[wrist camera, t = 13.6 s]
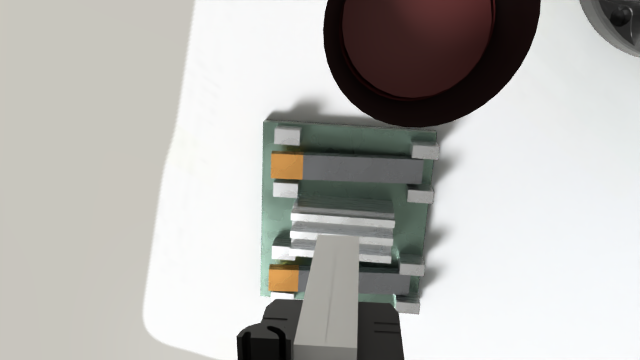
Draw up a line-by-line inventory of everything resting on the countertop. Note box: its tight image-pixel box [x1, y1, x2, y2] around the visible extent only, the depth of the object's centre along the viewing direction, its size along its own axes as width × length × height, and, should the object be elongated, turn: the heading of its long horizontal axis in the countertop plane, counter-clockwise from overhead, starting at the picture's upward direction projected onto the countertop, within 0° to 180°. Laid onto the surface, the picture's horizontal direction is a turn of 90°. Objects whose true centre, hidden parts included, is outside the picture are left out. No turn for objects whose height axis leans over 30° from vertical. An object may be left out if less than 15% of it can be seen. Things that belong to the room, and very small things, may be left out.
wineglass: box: [323, 0, 541, 128], centre depth 29 cm, size 8×9×20 cm
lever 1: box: [271, 151, 424, 184], centre depth 40 cm, size 12×2×1 cm, turn 87°
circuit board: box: [261, 120, 440, 314], centre depth 41 cm, size 14×16×5 cm
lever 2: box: [268, 264, 411, 295], centre depth 43 cm, size 12×2×1 cm, turn 87°
